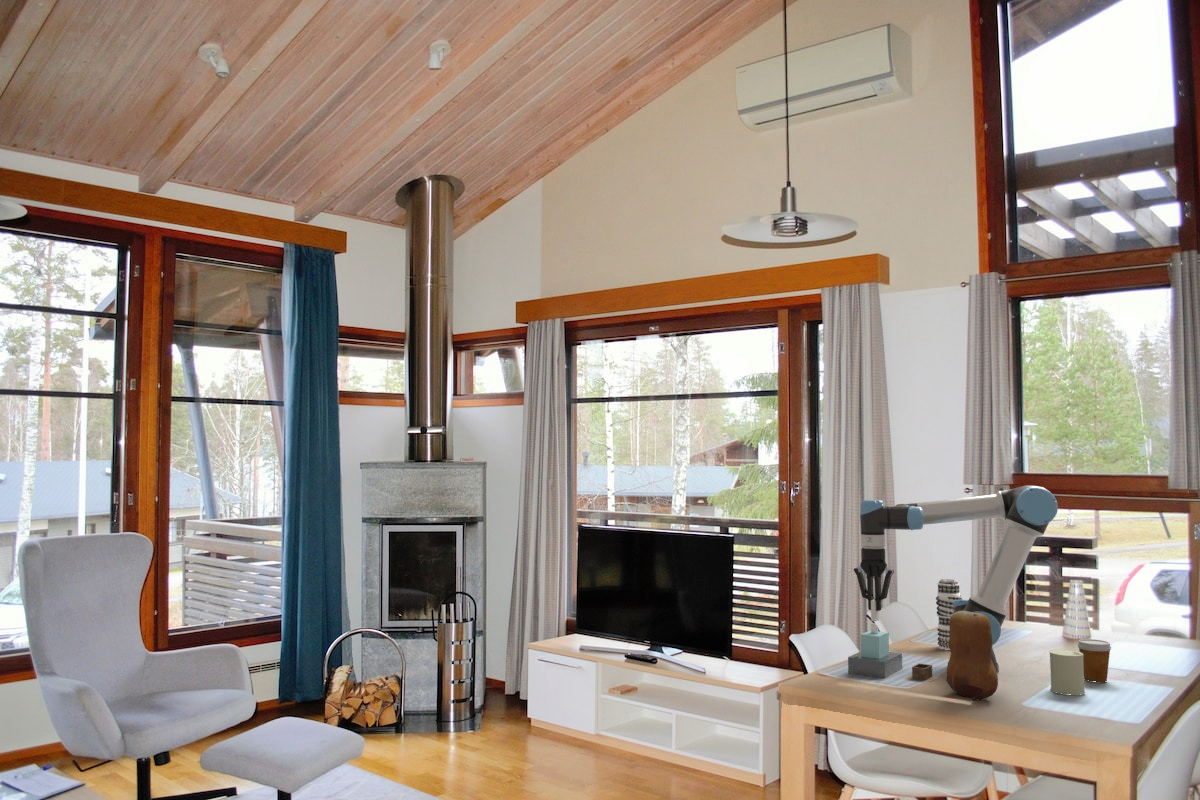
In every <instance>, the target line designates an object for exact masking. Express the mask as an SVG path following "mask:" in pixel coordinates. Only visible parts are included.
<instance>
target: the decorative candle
mask: <svg viewBox="0 0 1200 800" xmlns="http://www.w3.org/2000/svg"><path fill="white" fill-rule="evenodd" d="M936 585H937V596H936V597H935V600H936V601H935V604H936V605H937V606H936V610H937V611H936V614H937V617H938V624H937V626H938V628H937V629H936V630H937V631H938V632H937V635H938V637H937V648H938V649H939V648H940V649H939V650H942V649H945V650H944V651H948V650H950V648H949V646H948V642H949V639H950V636H949V635H950V626H949V621H950V618H951V616H952V615H953V614H954V610H953V605H954V601H955V600H963V598H962V595H961V592H960V586H961V584H960V583H959V582H958V581H957V580H956V579H951V578H950V579H949V578H941V579H939V581H938V582H936Z"/></svg>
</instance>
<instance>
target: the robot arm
mask: <svg viewBox="0 0 1200 800" xmlns="http://www.w3.org/2000/svg"><path fill="white" fill-rule="evenodd" d="M1058 511H1059V505H1058V501H1057V499H1056V497H1055V495H1054V494H1053V493H1052V492H1051V491H1050V490H1048V489H1047V488H1045V487H1043V486H1039V485H1030V484H1029V485H1023V486H1019V487H1015V488H1010V489H1004V490H998V491H997V492H996V493H995V494H988V495H987V494H986V495H985V494H984V495H979V496H970V497H969V496H968V497H959V498H951V499H940V500H930V501H921V502H913V503H912V502H910V503H898V504H896V505H894V506H889V505H888V506H887V505H885V502H884V501H883V500H882V499H881V500H880V499H864V500H861V502H860V511H859V514H860V515H859V521H860V545H861V546H862V548H861V549H860V552H861V553H860V555H861V556H860V557H861V562H860V564H859V566H857V567H855V568H853V572H854V574H855V575H856V578H857V580H858V581H857V582H858V585H859V589H860V593H861V597H862V598H863V599H866V600H867V607H868V610H869V611H870V618H871V619H870V621H871V622H878V621H880V620H879V619H880V615H879V614H880V613H879V612H880V611H881V610H882V600H885V599H887V598H888V594H889V589H890V583H891V579H892V576H893V575H894V573H895V571H894V569H891V568H889V567H888V565H887V562H886V549H885V546H886V539H885V538H886V537H885V536H886V535H885V534H886V533H885V530H905V531H907V530H908V531H909V530H910V531H917V530H918V531H919V530H921V529H923V527H924V525H935V524H936V525H937V524H945V523H953V522H954V523H955V522H966V521H975V520H986V519H997V518H999V519H1001V520H1003V521H1006V523H1007V527H1006V530H1005V532H1004V535H1003V536H1002V539H1001V541H1000V543H999V545H998V547H997V549H996V551H995V554H994V556H993V558H992V561H991V563H990V566H989V567H988V570H987V572H986V574H985V576H984V578H983V581H982V582H981V584H980V586H979V589H978V591H977V594H974V595H972V596H970V597H969V599H962V600H955V601H954V605H953V610H954V613H955V612H958V611H969V612H973V613H981V614H984V615H985V616H987V617H988V619H989V621H990V625H991V633H992V648H991V660H992V662H993V664H994V667H995V669H996V672H997V674H999V673H998V672H1000V666H999V663H998V662H997V658H996V655H995V651H994V648H993V646H994V645H995V644H997V642H998V641H999V640H1000V638H1001V634H1002V626H1003V623H1004V622H1005V621H1004V620H1005V619H1006V617H1007V615H1008V614H1007V612H1006V609H1005V606H1006V604H1007V602H1008V601H1009V600H1008V599H1009V597H1010V595H1011V593H1012V591H1013V590H1014V586H1015V584H1016V582H1017V579H1018V578H1019V576H1020V573H1021V571H1022V569H1023V567H1024V564H1025V563H1026V560H1027V559H1028V556H1029V554H1030V552H1031V550H1032V547H1033V545H1034V543H1035V541H1036V539H1037V538H1039V537H1043V536H1044V534H1045V532H1046V530H1047V527H1048V525H1049V523H1051V522H1052V521H1053V520H1054V519H1055V517H1056V516H1057V514H1058ZM863 572H864V573H865V576H864V573H863ZM883 574H885V576H884V580H883V583H882V575H883ZM865 578H866V579H865ZM865 580H866V581H865ZM882 584H883V585H882Z"/></svg>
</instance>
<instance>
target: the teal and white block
mask: <svg viewBox="0 0 1200 800" xmlns="http://www.w3.org/2000/svg"><path fill="white" fill-rule="evenodd" d="M860 652H861V657H869V658H877V659H880V658H882V657H884V656H886V655H888V654H889V652H890V633H889V632H887V631H879V623H875V622H874V623H873V622H872V623H870V630H868V631H865V632H863V633H861V634H860Z"/></svg>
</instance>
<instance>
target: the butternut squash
mask: <svg viewBox="0 0 1200 800" xmlns="http://www.w3.org/2000/svg"><path fill="white" fill-rule="evenodd" d="M949 626H950V635H949V636H950V639H949V642H948V646H949V648H950V657H949V659H948V662H947V665H946V677H945V681H946V682H947V684H948V686H949V687H950V688H951V689H952V690H953V692H955V693H956V694H958V695H959V696H962V697H967V698H973V699H972V701H980V700H981V701H982V700H984V699H988V698H990V697H992V696H993V695H994V694H995V692H997V689H998V687H999V686H998V685H999V677H998V675H999V674H998V673H997V672H996V669H995V667H994V664H993V662H992V660H991V648H993V646H992V633H991V625H990V621H989V619H988V617H987V616H985V615H984V614H981V613H973V612H969V611H958V612H955V613H954V614H953V615H952V616H951V618H950V621H949Z"/></svg>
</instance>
